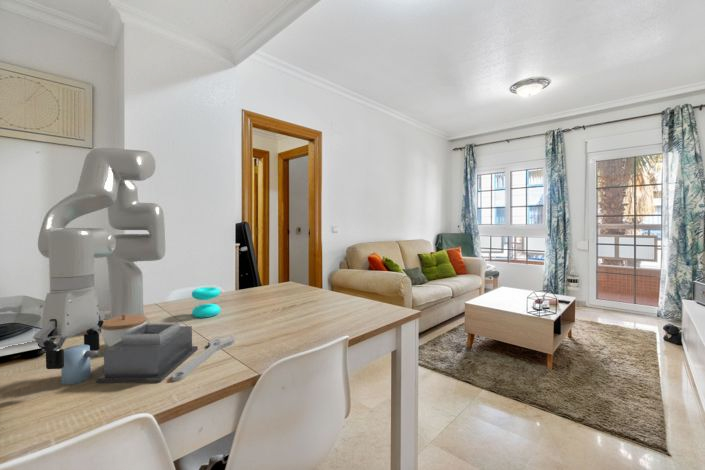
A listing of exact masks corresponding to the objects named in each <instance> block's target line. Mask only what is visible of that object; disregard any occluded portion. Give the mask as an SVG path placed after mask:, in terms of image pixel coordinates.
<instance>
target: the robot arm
mask: <svg viewBox="0 0 705 470" xmlns="http://www.w3.org/2000/svg"><path fill="white" fill-rule="evenodd" d="M155 171H156V160H155V158H154V156H153V154H152V153H151V152H150V151H147V150H141V149H140V150H139V149H125V148H113V147H96V148H93V149H91V150H90V151H89V152H88V153H87V154H86V156H85V158H84V161H83V166H82V169H81V173H80V176H79V180H78V183H77V188H76V190H75V192H73V193H71V194H69V195H68V196H65V197H64V198H62V199H61V200H60V201H59V202H57V203H56V204H55V205H54V206H52V207H51V208H50V209H49V210H48V211H47V212H46V214H45V216H44V218H43V220H42V224H41V226H40V231H39V232H38V233H39V234H38V237H37V249H38V251H39V253H40V254H41V255H42V256H43V257H45V258H46V259H48V262H49V264H48V268H49V269H48V270H49V271H48V272H49V274H48V275H49V292H48V293H47V294H46V296H45V299H44V304H43V308H42V309H43V312H42V320H41V321H42V323H41V324H42V326H41V328H40V329H39V330H38V331H37V332H35V333H34V334H33V339H34V340H35V342H36V343H37V346H38V347H39V348H41V351H43V352H45V369H46V370H61V368H63V367H64V350H63V349H64V348H62V347H63V344H65V342H66V340H67V339H69V338H71V337H74V336H77V335H80V334H82V333H84V334H83V345H89V346H90V351H100V348H101V347H100V333H101V327H102V325H103V321H105V320H108V319H111V318H114V317H119V316H122V314H126V315H144V282H143V281H144V280H143V278H144V277H143V275H144V274H143V272H142V270H141V269H140V268H139V267H138V265H137V264H136V263H137V262H151V261H152V262H155V261H160V260H162V259H163V258H164V257H165V255H166V230H165V229H166V228H165V227H166V226H165V215H164V211H163V208H162V207H161V206H160V204H158V203H155V202H140V201H139V195H138V187H137V186H136V184H135V182H141V181H142V182H143V181H146V180H147V179H150V178H151V177H152V176H153V175H154V173H155ZM106 208H107V218H108V223H109V224H108V225H109V226H110V227H111V228H112V229H114V230H117V231H147V232H148V233H120V234H113V232H112V231H110V230H109V229H106V228H101V227H67V225H68V224H70V223H71V222H72V221H74V220H76V219H77V218H80V217H82V216H85V215H89V214H91V213H96V212H97V211H101V210H103V209H106ZM101 258H105V259H106V262H107V270H108V293H109V294H108V295H109V298H108V299H109V312H105V311H102V310H100V309H99V301H98V295H97V290H96V287H95V261H94V260H95V259H101ZM134 262H136V263H134ZM144 316H145V315H144ZM146 318H147V320H146V324H149V323H150V319H149V317H147V316H146ZM55 340H57V341H56V342H55Z"/></svg>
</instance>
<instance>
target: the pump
mask: <svg viewBox="0 0 705 470" xmlns="http://www.w3.org/2000/svg"><path fill="white" fill-rule="evenodd" d="M62 349H63V350H64V367H63V368H61V369H60V370H61V371H60V373H61V384H62V385H67V386H68V385H75V384H79V383H82V382H85V381H86V380H88V379H90V378H91V376H92V375H91V374H92V372H91V371H92V370H91V358H97V357H99V355H100V350H97V351H90V346H89V345H84V344H77V345H72V346H69V347H65V348H62Z"/></svg>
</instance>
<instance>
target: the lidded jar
mask: <svg viewBox="0 0 705 470" xmlns="http://www.w3.org/2000/svg"><path fill="white" fill-rule="evenodd" d="M146 317H147V315H126V314H122V316H119V317H114V318H111V319H108V320H103V325H102V327H101V332H100V333H101V337H102V341H103V343H104V344H105V345H106V346H107V348H109V347H111V346H112V345H114V344H116V343H118V342H120V341H121V336H122V335H124V334H126V333H127V332H129V331H131V330H133V329H135V328H137V327H139V326H141V325H143V324H146V320H147V318H148V317H147V318H146Z"/></svg>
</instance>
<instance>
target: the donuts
mask: <svg viewBox="0 0 705 470" xmlns="http://www.w3.org/2000/svg"><path fill="white" fill-rule="evenodd" d="M220 294H221V290H220V288H218V287H213V286H208V287H200V288H195V289H194V290H193V291H192V292H191V296H192V297H191V298H193V299H195V300H198V301H208V300H213V299H215V298H217V297H218V296H220ZM220 312H221V307H220V306H219V305H218V304H216V303H204V304H199V305H197V306H195V307H194V308H193V309H192V311H191V315H192V316H193V317H195V318H198V319H199V318H211V317H215V316H217V315H219V314H220Z"/></svg>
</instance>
